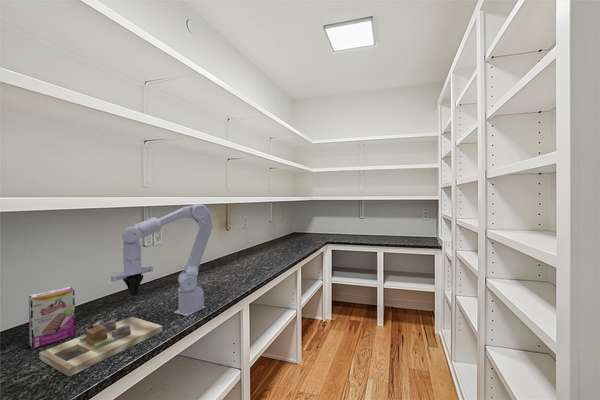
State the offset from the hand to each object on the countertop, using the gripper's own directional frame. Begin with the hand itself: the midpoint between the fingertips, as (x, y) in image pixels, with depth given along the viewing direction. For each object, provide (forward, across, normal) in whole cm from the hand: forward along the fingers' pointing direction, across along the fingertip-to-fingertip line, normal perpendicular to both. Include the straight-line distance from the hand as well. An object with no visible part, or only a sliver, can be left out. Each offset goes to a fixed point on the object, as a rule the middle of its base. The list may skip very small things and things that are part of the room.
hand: (133, 295), depth 105 cm
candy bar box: (+11, +20, -12) cm, 26 cm away
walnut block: (+8, +16, +7) cm, 19 cm away
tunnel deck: (+10, +14, +7) cm, 18 cm away
